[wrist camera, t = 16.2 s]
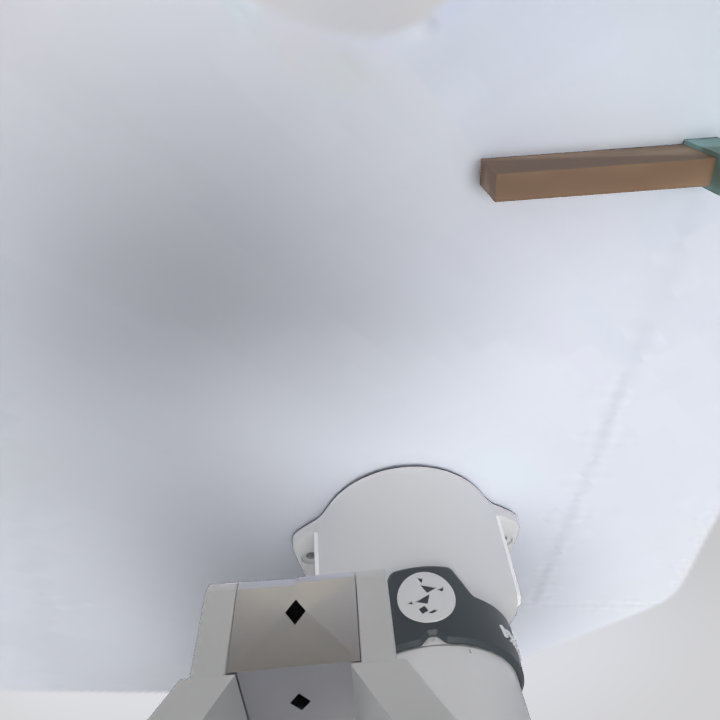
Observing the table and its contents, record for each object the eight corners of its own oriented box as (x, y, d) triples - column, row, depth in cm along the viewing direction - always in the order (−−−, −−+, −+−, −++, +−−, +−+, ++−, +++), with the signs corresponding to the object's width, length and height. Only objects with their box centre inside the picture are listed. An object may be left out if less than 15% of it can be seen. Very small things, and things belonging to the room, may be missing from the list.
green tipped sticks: (709, 171, 37) (755, 192, 33) (479, 188, 36) (499, 212, 33) (789, -161, 29) (862, -184, 25) (495, -143, 28) (523, -164, 25)
